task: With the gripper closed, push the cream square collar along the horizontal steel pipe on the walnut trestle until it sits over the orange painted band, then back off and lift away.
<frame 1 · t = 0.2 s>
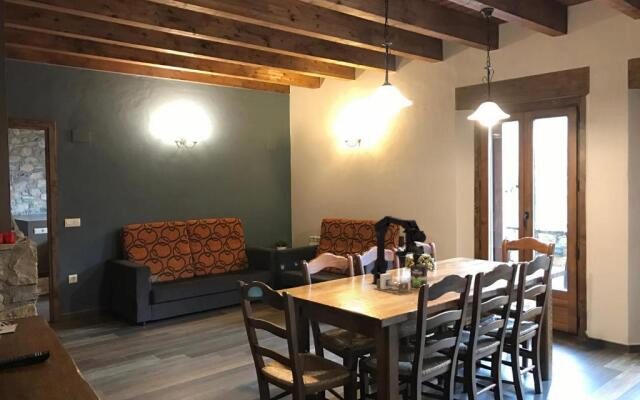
hand: (409, 266, 319), 14 cm above the table, tool pointing down, fingers open, 9 cm apart
collar: (386, 281, 321), point 5 cm above the table, slide at 0.0 cm
pipe: (392, 291, 318), resting on trestle
coffee can: (418, 288, 326), on the table
trestle: (392, 291, 318), on the table
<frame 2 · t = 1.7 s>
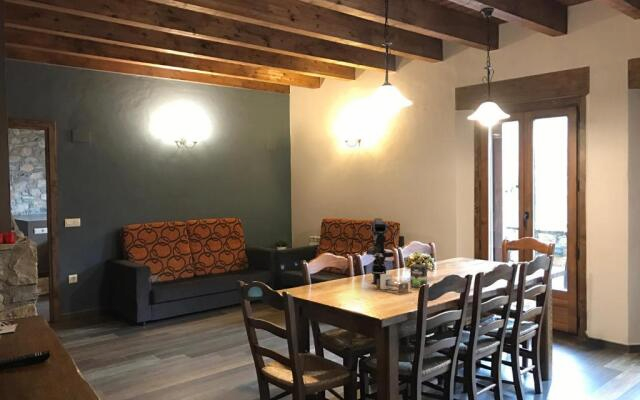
hand: (379, 267, 326), 13 cm above the table, tool pointing down, fingers closed
nothing on the table moved.
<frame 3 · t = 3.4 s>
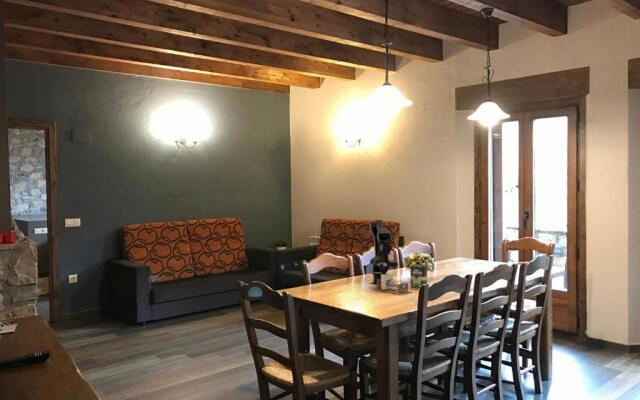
hand: (383, 276, 323), 8 cm above the table, tool pointing down, fingers closed
collar: (387, 281, 321), point 5 cm above the table, slide at 0.7 cm, touching gripper
everything else where it was.
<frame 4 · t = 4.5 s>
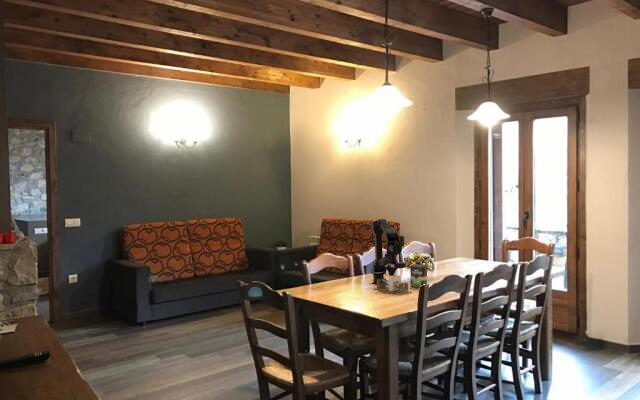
hand: (391, 278, 318), 8 cm above the table, tool pointing down, fingers closed
collar: (394, 282, 316), point 5 cm above the table, slide at 7.0 cm, touching gripper
everything else where it was.
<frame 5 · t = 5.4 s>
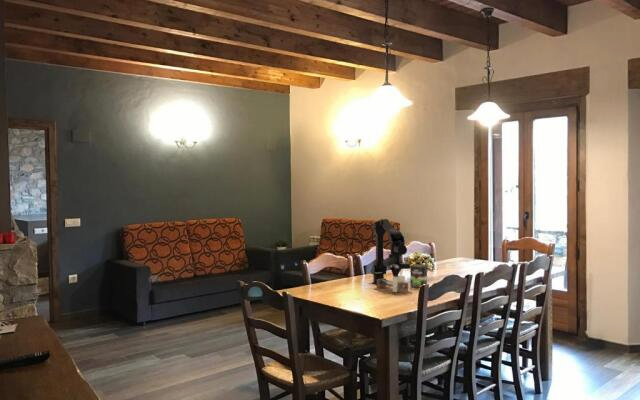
hand: (395, 278, 315), 8 cm above the table, tool pointing down, fingers closed
collar: (398, 283, 313), point 5 cm above the table, slide at 10.4 cm, touching gripper
everything else where it was.
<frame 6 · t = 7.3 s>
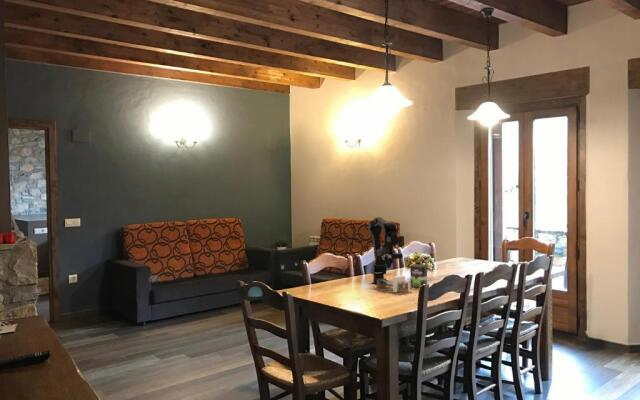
hand: (388, 268, 324), 13 cm above the table, tool pointing down, fingers closed
collar: (399, 283, 313), point 5 cm above the table, slide at 10.6 cm
everything else where it was.
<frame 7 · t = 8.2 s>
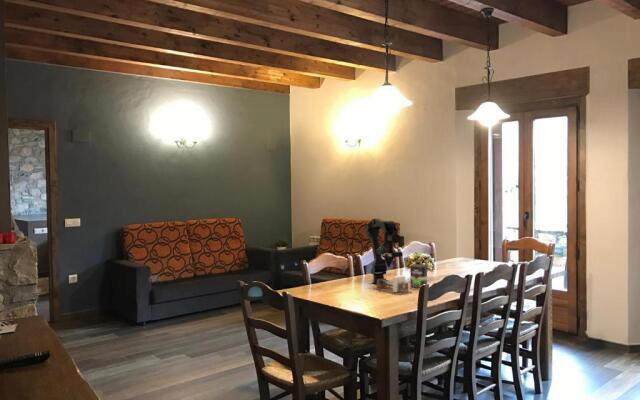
hand: (388, 267, 327), 13 cm above the table, tool pointing down, fingers closed
nothing on the table moved.
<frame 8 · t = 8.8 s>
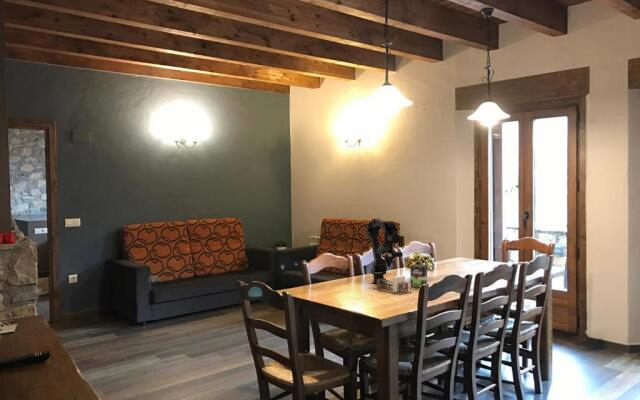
hand: (388, 267, 327), 13 cm above the table, tool pointing down, fingers closed
nothing on the table moved.
at the end: collar slide at 10.6 cm; the gripper is holding nothing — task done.
